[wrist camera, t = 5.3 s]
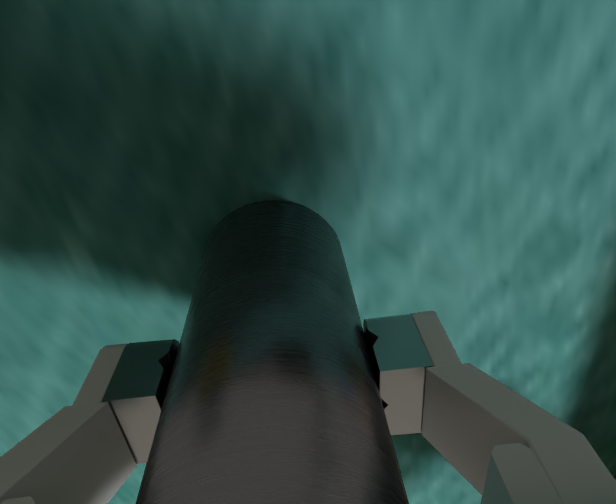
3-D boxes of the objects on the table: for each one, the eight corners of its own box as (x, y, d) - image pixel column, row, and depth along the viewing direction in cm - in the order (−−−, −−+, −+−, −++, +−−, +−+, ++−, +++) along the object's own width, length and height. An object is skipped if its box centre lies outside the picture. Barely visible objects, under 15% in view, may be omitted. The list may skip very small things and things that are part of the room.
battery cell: (339, 193, 12) (489, 652, 4) (345, 311, 14) (450, 779, 6) (190, 208, 12) (-8, 710, 4) (218, 324, 14) (134, 817, 6)
